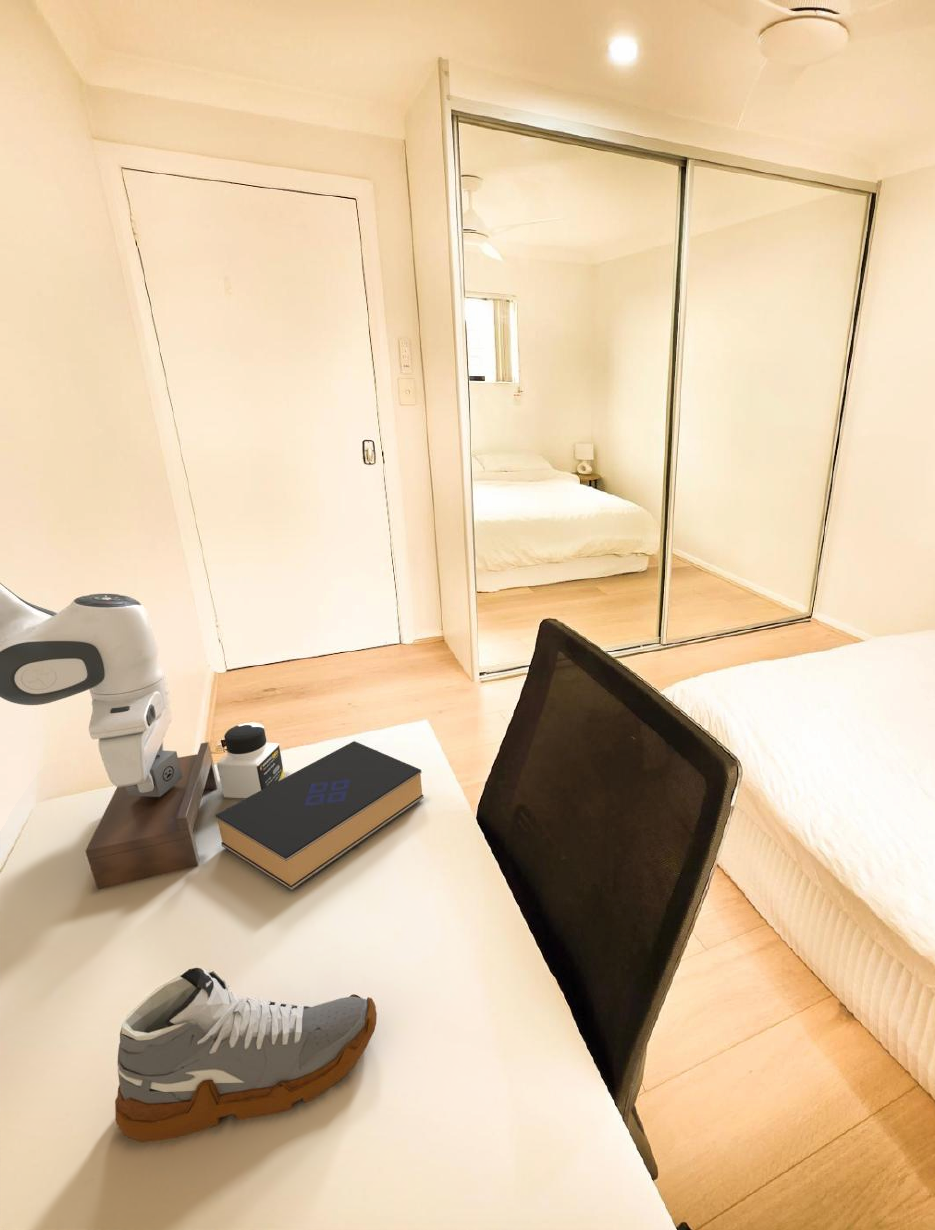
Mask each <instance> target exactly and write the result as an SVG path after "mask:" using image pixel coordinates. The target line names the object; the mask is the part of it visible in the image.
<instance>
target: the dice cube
mask: <svg viewBox="0 0 935 1230" xmlns="http://www.w3.org/2000/svg"><path fill="white" fill-rule="evenodd" d="M178 758H179V756H178V752H177V750H163V751H161V750H159V751H158V753H157V755H156V757H155V760H154V762H153V764H152V767H151V769H150V774H151V776H152V777H153V780H154V784H155V786H154V789H153V790H152V791H150V792H144V793H141V792H139V789H138V786H137V784H136V785H131V786H126V790H127V794H128V796H151V797H161V796H162V795H163V794H164V793H165V792H167V791H168V790H169V789H170V788H171V787H172V786H174V785H175V784H176V783H177V782H178V781H180V780H181V779H182V778H183V777H182V773H181V769H180V764H179V760H178Z"/></svg>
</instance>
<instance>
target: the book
mask: <svg viewBox="0 0 935 1230" xmlns="http://www.w3.org/2000/svg"><path fill="white" fill-rule="evenodd" d="M422 772H423V771H422V769H420V768H418V767H416V766H414V765H411V764H410V763H406V762H404V761H402V760H399V759H397V758H395V757H392V756H390V755H388V754H385V753H383V752H381V751H379V750H377V749H374V748H372V747H369V746H366V745H364V744H362V743H360V742H358V741H356V740H353V741H351V742H350V743H347V744H346V745H344V746H342V747H340V748H338V749H336V750H334V751H332V752H331V753H329V754H327V755H325V756H323V757H321V758H320V759H318V760H315V761H314V762H312V763H310V764H308V765H306V766H304V767H302V768H300V769H298V770H296V771H294V772H292V773H291V774H289V775H286V776H284V777H283V778H282V779H281V780H280V781H278V782H276V783H274V784H272V785H270V786H268V787H266V788H265V789H263V790H261V791H259V792H257V793H255V794H253V795H251V796H250V797H248V798H243V799H241V800H240V801H238V802H236V803H234V804H232V805H230V806H228V807H227V808H225V809H222V810H221V811H219V812H217V813H215V815H214V817H215V819H216V820H217V823H218V828H219V833H220V837H221V847H223V848H224V849H226V850H227V851H229V852H231V853H232V854H234V855H235V856H237V857H239V858H240V859H242V860H243V861H245V862H247V863H248V864H250V865H251V866H252V867H254V868H255V869H257V870H259V871H260V872H262V873H264V874H265V875H266V876H268V877H270V878H271V879H272V880H273V879H274V880H275V881H276V882H278V883H279V884H281V885H283V887H286V888H287V889H288V890H290V891H293V890H294V889H296V888H297V887H298V886H300V885H302V884H303V883H305V882H306V881H307V880H308V879H310V878H311V877H313V876H314V875H316V874H318V873H319V872H320V871H321V870H323V869H324V868H326V867H327V866H329V865H330V864H332V863H333V862H335V861H336V860H337V859H339V858H340V857H341V856H343V855H345V854H346V853H347V852H349V851H350V850H351V849H353V848H355V847H356V846H357V845H359V844H360V843H361V842H363V841H364V840H366V839H367V838H369V837H370V836H372V835H373V834H375V833H376V832H377V831H379V830H380V829H381V828H383V827H384V826H386V825H387V824H389V823H390V822H391V821H393V820H394V819H395V818H397V817H399V816H400V815H402V814H404V812H406V811H407V810H409V809H410V808H411V807H413V806H415V805H416V804H418V802H420V801H422V800H423V799H425V798H424V794H423V788H422V776H421V774H422Z"/></svg>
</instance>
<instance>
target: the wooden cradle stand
mask: <svg viewBox="0 0 935 1230" xmlns="http://www.w3.org/2000/svg"><path fill="white" fill-rule="evenodd" d="M213 759H214V758H213V754H212V750H211V744H210V742H209V741H207V742H206V741H205V742H201V743H200V745H199V749H198V752H197V754H191V755H190V754H189V755H186V756H180V757H179V756H178V760H179V764H180V769H181V773H182V777H183V778H182V779H181V780H180V781H178V782H177V783H176V784H175V785H174V786H172V787H171V788H170V789H169V790H168V791H167V792H165V793H164V794H163V795H162V796H161V797H151V796H128V794H127V790H126V786H125V787H116V789H115V791H114V793H113V795H112V796H111V799H110V801H109V803H108V804H107V806H106V808H105V811H104V812H103V815H102V816H101V819H100V821H99V822H98V824H97V827H96V829H95V830H94V833H93V835H92V837H91V838H90V840H89V843H88V845H87V847H86V849H85V850H84V851H85V856H86V858H87V861H88V864H89V867H90V870H91V874H92V876H93V880H94V883H95V886H96V889H97V890H98V891H99V890H103V889H107V888H111V887H115V886H120V885H124V884H129V883H133V882H136V881H140V880H145V879H150V878H153V877H158V876H162V875H166V874H170V873H171V874H172V873H175V872H179V871H184V870H187V869H191V868H196V867H199V865H200V856H199V852H198V848H197V843H196V840H195V836H194V832H193V831H194V830H193V829H194V826H195V823H196V819H197V816H198V812H199V809H200V808H199V807H200V806H201V802H202V797H203V794H204V792H208V791H212V790H218V788H219V782H218V778H217V776H218V775H217V772H216V767H215V764H214V763H215V762H214V760H213Z"/></svg>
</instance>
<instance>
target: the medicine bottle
mask: <svg viewBox="0 0 935 1230" xmlns="http://www.w3.org/2000/svg"><path fill="white" fill-rule="evenodd" d="M266 735H267V734H266V729H265V727H264V725H262V724H261V723H258V722H245V723H241V724H240V723H239V724H238V725H235V726H233V727H231V728H229V729H228V730H226V732H225V733H224V735H223V737H224V742H225V747H226V752H227V753H226V755H224V756H223V757H222V758H221V759H220V760H218V762H216V767H217V772H218V776H219V780H220V785H221V790H222V795H223V797H224V798H232V799H246V798H248V797H250V796H251V795H253V794H255V793H257V792H259V791H261V790H263V789H265V788H266V787H268V786H270V785H272V784H274V783H276V782H278V781H280V780H282V779H283V778H285V772H284V771H285V770H284V766H283V761H282V754H281V749H280V744H279V743H276V742H268V741H267V736H266Z"/></svg>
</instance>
